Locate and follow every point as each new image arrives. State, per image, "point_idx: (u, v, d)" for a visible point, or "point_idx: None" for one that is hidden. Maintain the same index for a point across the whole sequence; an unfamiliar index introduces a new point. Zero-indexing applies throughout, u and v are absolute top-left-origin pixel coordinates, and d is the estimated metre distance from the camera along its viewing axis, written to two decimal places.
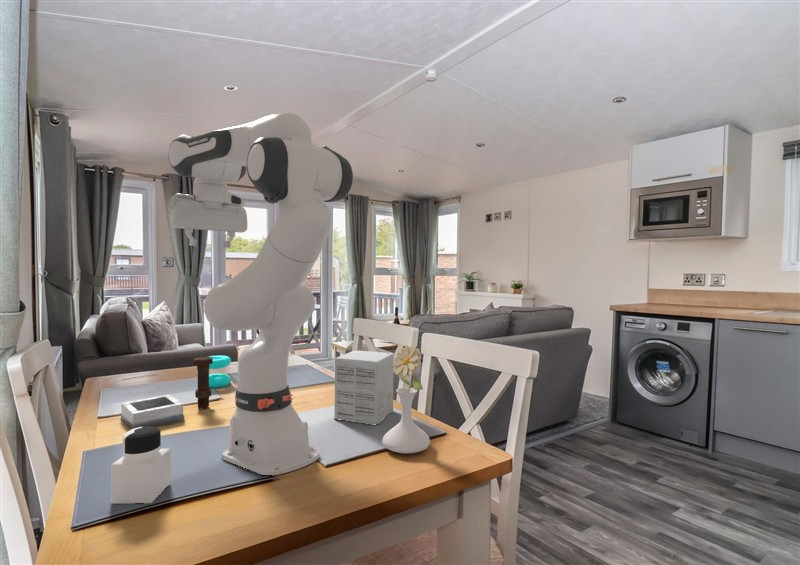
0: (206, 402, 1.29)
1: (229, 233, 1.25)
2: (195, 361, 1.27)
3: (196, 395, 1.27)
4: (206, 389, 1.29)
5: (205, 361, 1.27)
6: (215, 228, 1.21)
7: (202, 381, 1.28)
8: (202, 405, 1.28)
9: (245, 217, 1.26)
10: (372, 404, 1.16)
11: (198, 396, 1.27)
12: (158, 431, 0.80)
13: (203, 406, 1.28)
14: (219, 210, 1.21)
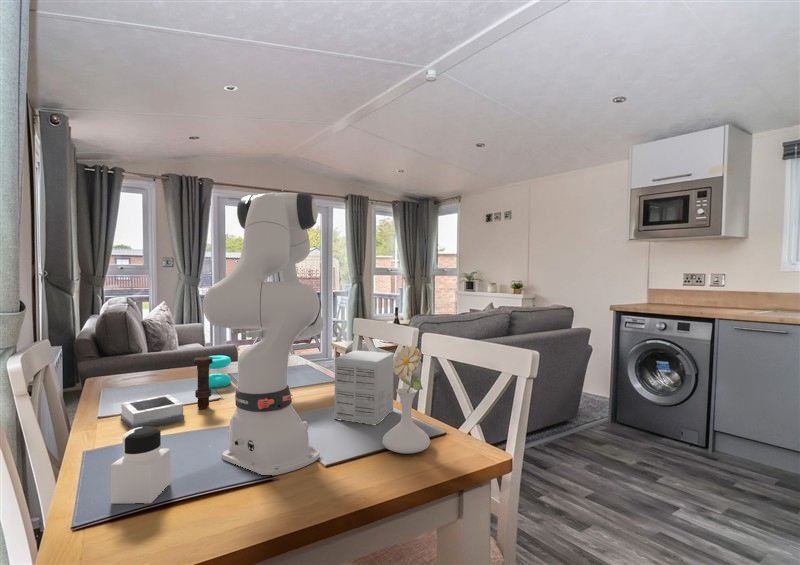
0: (206, 402, 1.29)
1: None
2: (195, 361, 1.27)
3: (196, 395, 1.27)
4: (206, 389, 1.29)
5: (205, 361, 1.27)
6: None
7: (202, 381, 1.28)
8: (202, 405, 1.28)
9: None
10: (372, 403, 1.16)
11: (198, 396, 1.27)
12: (158, 431, 0.80)
13: (203, 406, 1.28)
14: None
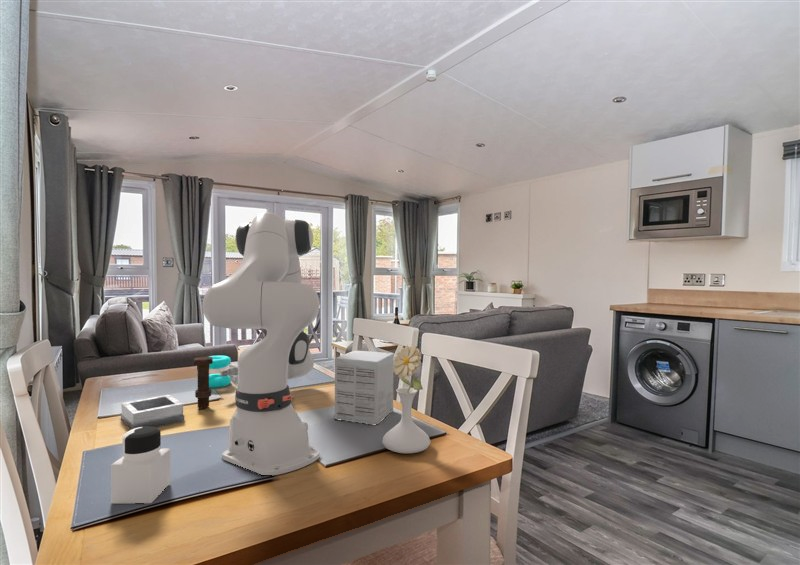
0: (206, 402, 1.29)
1: None
2: (195, 361, 1.27)
3: (196, 395, 1.27)
4: (206, 389, 1.29)
5: (205, 361, 1.27)
6: None
7: (202, 381, 1.28)
8: (202, 405, 1.28)
9: None
10: (372, 404, 1.16)
11: (198, 396, 1.27)
12: (158, 431, 0.80)
13: (203, 406, 1.28)
14: None
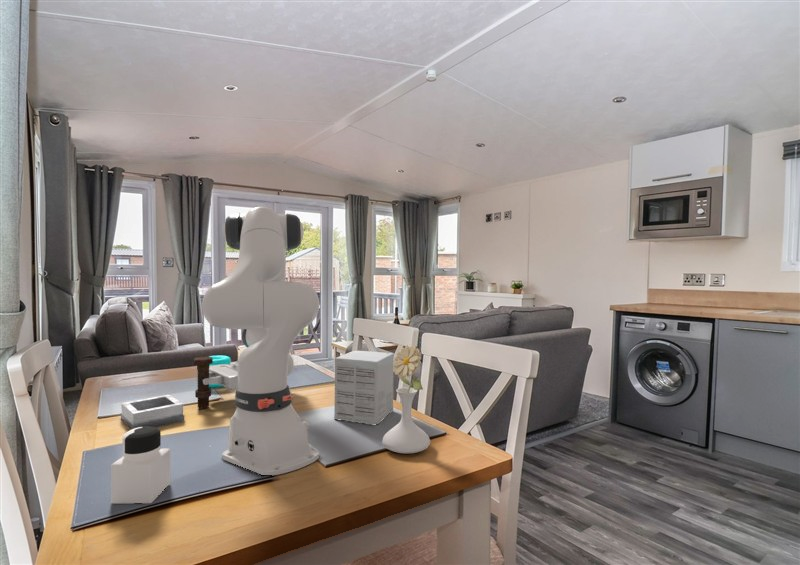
0: (206, 402, 1.29)
1: None
2: (195, 361, 1.27)
3: (196, 395, 1.27)
4: (206, 389, 1.29)
5: (205, 361, 1.27)
6: (218, 372, 1.32)
7: None
8: (202, 405, 1.28)
9: None
10: (372, 403, 1.16)
11: (198, 396, 1.27)
12: (158, 431, 0.80)
13: (203, 406, 1.28)
14: (236, 370, 1.34)
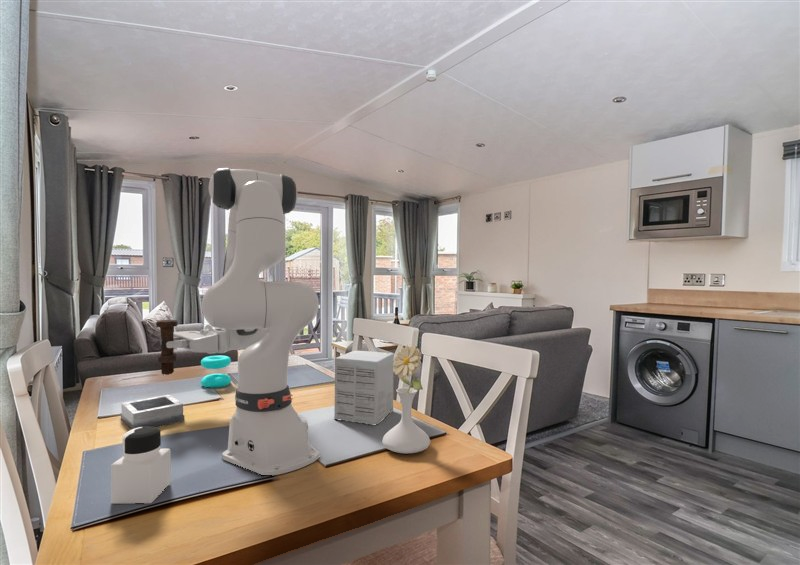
0: (170, 367, 1.21)
1: None
2: (157, 323, 1.19)
3: (159, 359, 1.19)
4: (170, 353, 1.20)
5: (168, 323, 1.19)
6: (183, 336, 1.24)
7: (165, 345, 1.20)
8: (166, 370, 1.20)
9: (208, 336, 1.20)
10: (372, 404, 1.16)
11: (162, 360, 1.19)
12: (158, 431, 0.80)
13: (167, 371, 1.20)
14: (203, 334, 1.26)
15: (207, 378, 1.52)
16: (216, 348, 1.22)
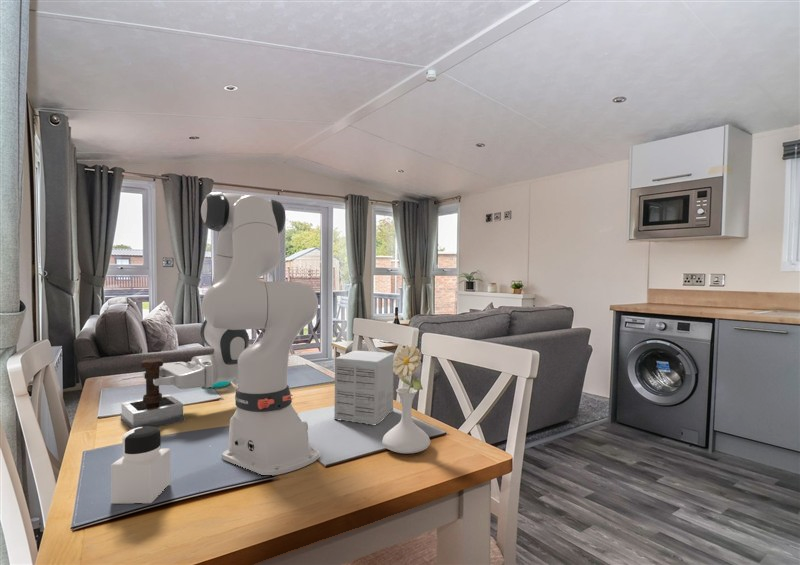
0: None
1: None
2: (143, 363, 1.16)
3: (144, 400, 1.17)
4: (155, 394, 1.18)
5: (154, 363, 1.16)
6: (169, 370, 1.21)
7: (151, 385, 1.17)
8: None
9: (194, 371, 1.18)
10: (372, 404, 1.16)
11: (146, 401, 1.17)
12: (158, 431, 0.80)
13: None
14: (190, 368, 1.24)
15: None
16: (202, 383, 1.19)
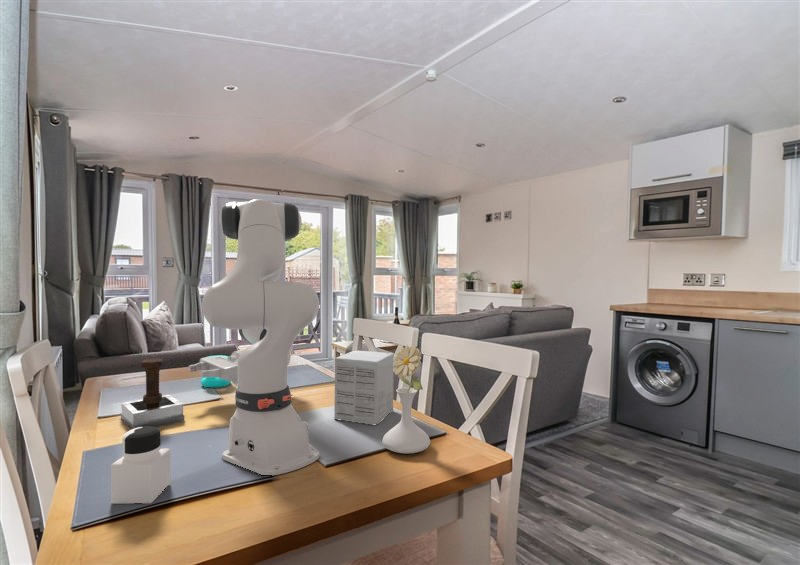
0: None
1: None
2: (143, 363, 1.16)
3: (144, 400, 1.17)
4: (155, 394, 1.18)
5: (154, 363, 1.16)
6: (213, 363, 1.30)
7: (151, 385, 1.17)
8: None
9: (238, 364, 1.26)
10: (372, 404, 1.16)
11: (146, 401, 1.17)
12: (158, 431, 0.80)
13: None
14: (231, 361, 1.32)
15: (207, 378, 1.52)
16: None
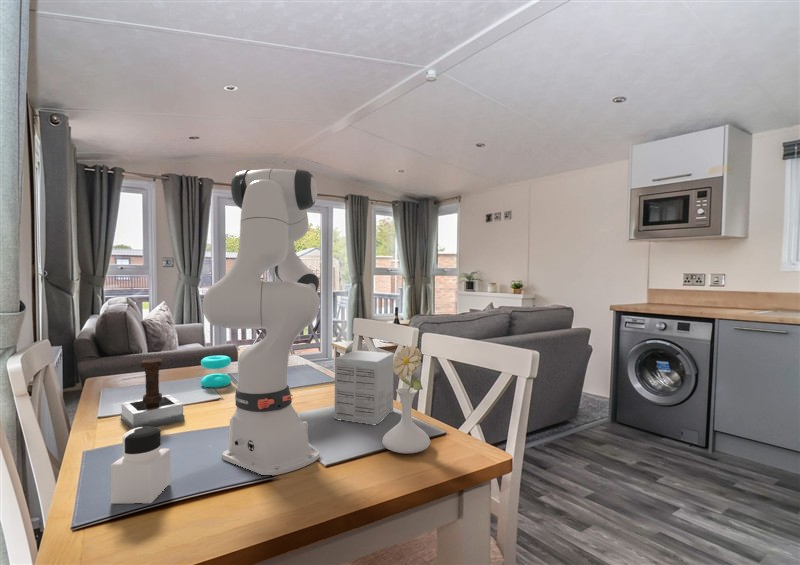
0: None
1: None
2: (142, 364, 1.16)
3: (144, 401, 1.17)
4: (155, 394, 1.18)
5: (153, 363, 1.16)
6: None
7: (150, 385, 1.17)
8: None
9: None
10: (372, 404, 1.16)
11: (146, 401, 1.17)
12: (158, 431, 0.80)
13: None
14: None
15: (207, 378, 1.52)
16: None
